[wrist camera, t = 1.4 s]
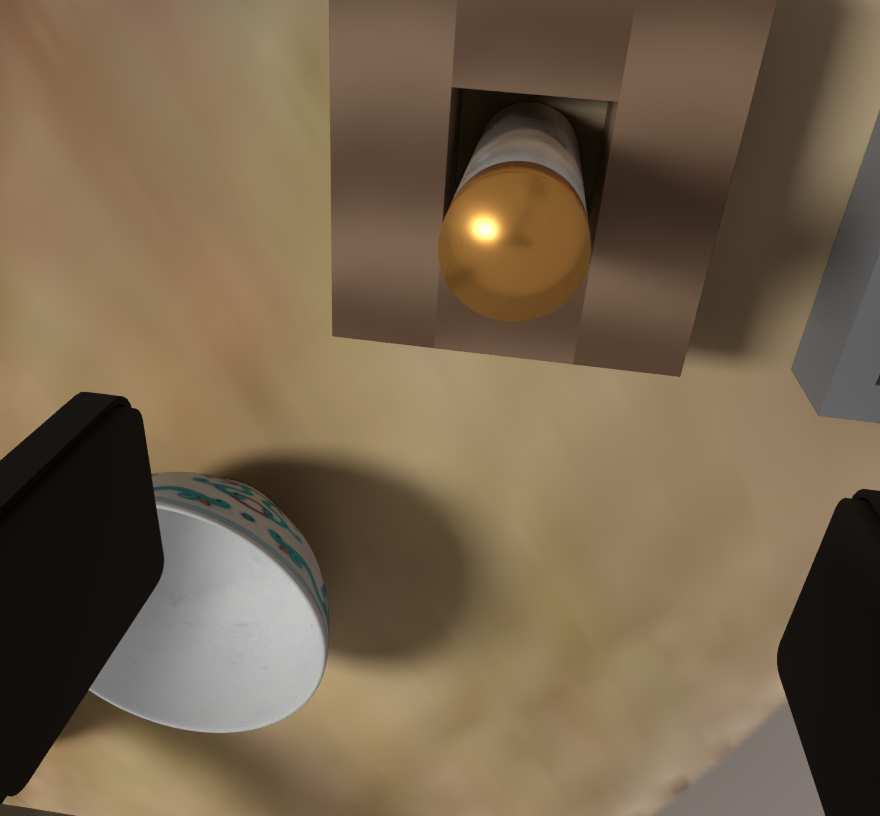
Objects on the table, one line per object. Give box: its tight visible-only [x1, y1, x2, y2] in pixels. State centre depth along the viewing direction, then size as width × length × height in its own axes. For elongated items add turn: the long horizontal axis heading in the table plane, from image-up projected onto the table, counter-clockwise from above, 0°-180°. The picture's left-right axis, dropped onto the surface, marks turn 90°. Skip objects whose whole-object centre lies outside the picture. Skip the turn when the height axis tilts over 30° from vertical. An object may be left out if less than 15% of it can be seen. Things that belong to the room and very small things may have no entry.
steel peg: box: [438, 102, 591, 322], centre depth 25 cm, size 4×4×12 cm
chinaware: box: [89, 472, 329, 733], centre depth 39 cm, size 15×15×8 cm
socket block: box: [329, 0, 777, 377], centre depth 28 cm, size 14×14×4 cm
